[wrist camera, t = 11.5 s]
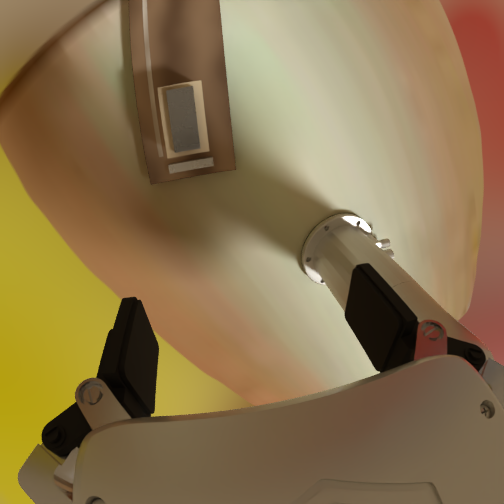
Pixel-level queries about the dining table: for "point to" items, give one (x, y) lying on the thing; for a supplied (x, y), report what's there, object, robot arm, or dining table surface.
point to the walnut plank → (180, 80)
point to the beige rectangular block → (183, 119)
